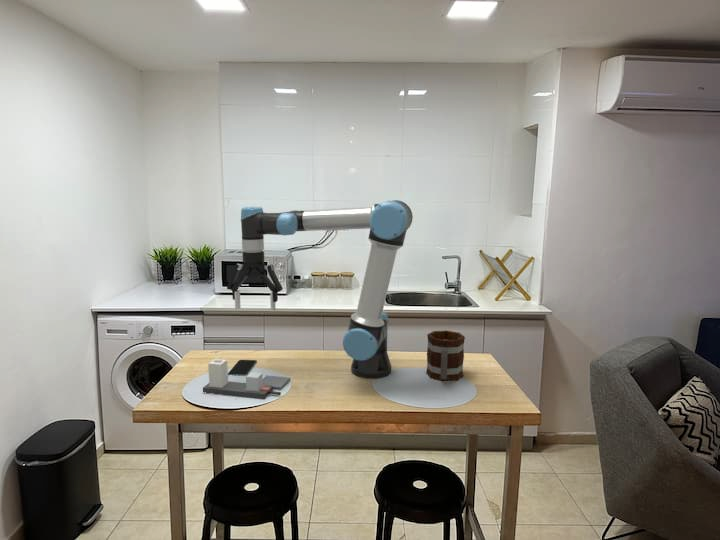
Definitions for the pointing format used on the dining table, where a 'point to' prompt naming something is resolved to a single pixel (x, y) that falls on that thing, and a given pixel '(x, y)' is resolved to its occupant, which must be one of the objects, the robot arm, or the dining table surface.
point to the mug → (445, 355)
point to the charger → (218, 373)
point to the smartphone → (242, 367)
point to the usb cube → (254, 381)
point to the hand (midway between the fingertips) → (255, 309)
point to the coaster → (276, 381)
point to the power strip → (241, 390)
